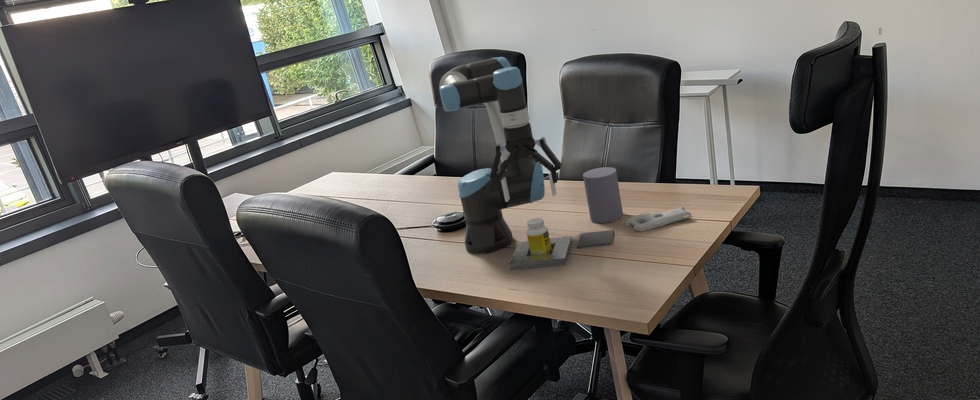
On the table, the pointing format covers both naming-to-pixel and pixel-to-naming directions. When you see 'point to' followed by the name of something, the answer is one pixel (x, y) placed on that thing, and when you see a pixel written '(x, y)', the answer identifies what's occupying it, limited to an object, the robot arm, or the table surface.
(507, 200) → the robot arm
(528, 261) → the housing plate
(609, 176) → the container
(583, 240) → the rubber mat
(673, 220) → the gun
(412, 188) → the table surface
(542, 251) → the pill bottle
